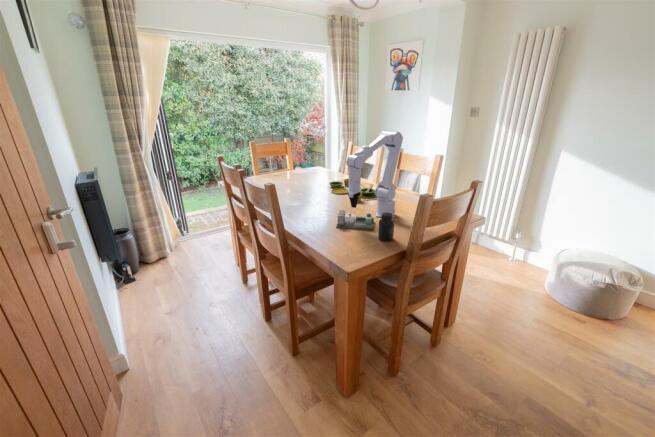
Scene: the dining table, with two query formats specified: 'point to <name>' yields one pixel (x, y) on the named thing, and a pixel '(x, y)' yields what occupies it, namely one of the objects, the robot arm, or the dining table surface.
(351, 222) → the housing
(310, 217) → the dining table surface
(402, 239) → the dining table surface
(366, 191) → the tableware set
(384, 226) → the supplement bottle
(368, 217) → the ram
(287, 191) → the dining table surface
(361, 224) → the press
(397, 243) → the dining table surface
